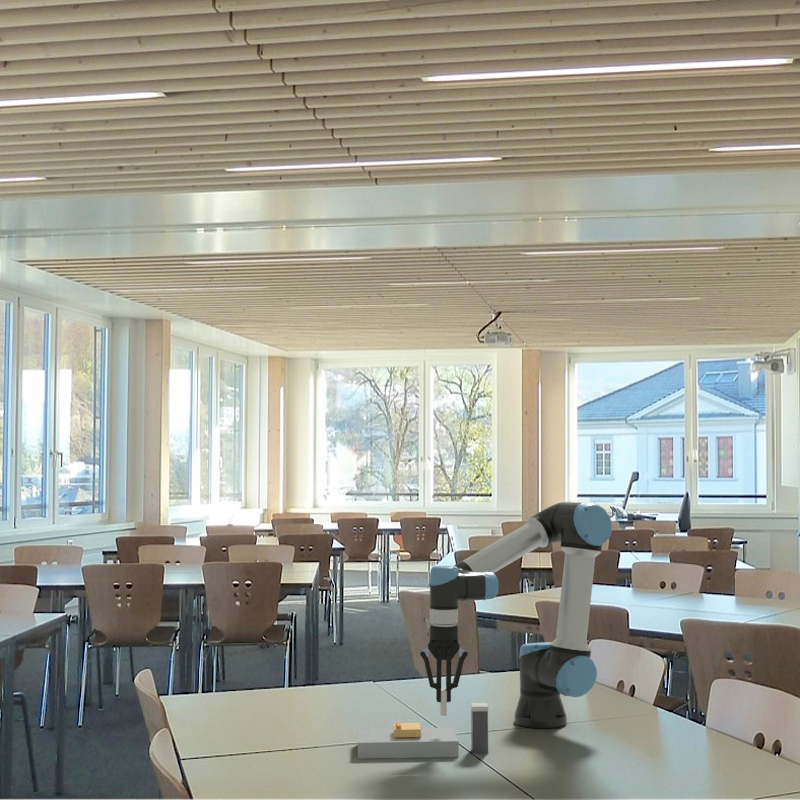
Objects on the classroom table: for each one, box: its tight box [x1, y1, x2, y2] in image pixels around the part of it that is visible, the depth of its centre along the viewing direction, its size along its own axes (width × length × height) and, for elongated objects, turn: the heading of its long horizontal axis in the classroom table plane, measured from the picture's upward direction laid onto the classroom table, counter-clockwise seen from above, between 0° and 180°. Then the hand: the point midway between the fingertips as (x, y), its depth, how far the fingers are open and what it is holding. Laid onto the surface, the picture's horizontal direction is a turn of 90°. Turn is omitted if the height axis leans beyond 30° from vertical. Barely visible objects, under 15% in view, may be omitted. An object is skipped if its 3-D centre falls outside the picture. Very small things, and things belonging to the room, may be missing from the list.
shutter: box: [393, 720, 421, 738], centre depth 286 cm, size 7×7×3 cm
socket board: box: [357, 727, 460, 759], centre depth 286 cm, size 26×14×4 cm, turn 92°
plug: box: [470, 702, 489, 755], centre depth 285 cm, size 4×4×12 cm
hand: (443, 714), depth 286 cm, fingers closed
